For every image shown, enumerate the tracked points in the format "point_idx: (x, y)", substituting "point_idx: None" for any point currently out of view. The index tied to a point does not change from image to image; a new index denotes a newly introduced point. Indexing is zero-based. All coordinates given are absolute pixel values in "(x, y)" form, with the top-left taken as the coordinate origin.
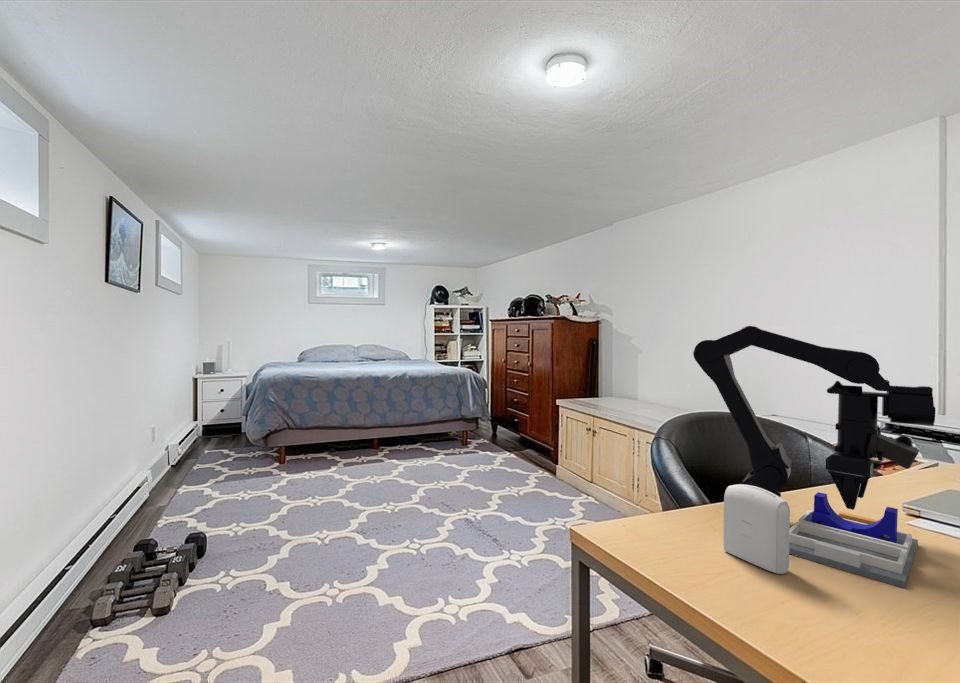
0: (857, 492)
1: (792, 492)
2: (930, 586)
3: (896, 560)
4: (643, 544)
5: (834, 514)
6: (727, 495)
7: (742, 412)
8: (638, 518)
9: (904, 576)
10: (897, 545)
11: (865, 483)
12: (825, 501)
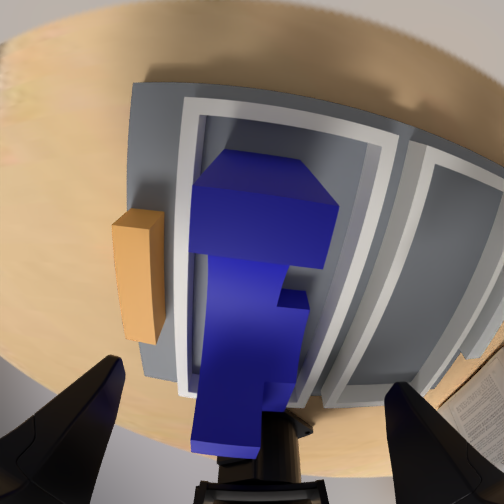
0: (472, 446)
1: (10, 362)
2: (499, 120)
3: (441, 175)
4: None
5: (226, 368)
6: None
7: None
8: (367, 475)
9: None
10: (389, 167)
11: (78, 423)
12: (234, 425)
